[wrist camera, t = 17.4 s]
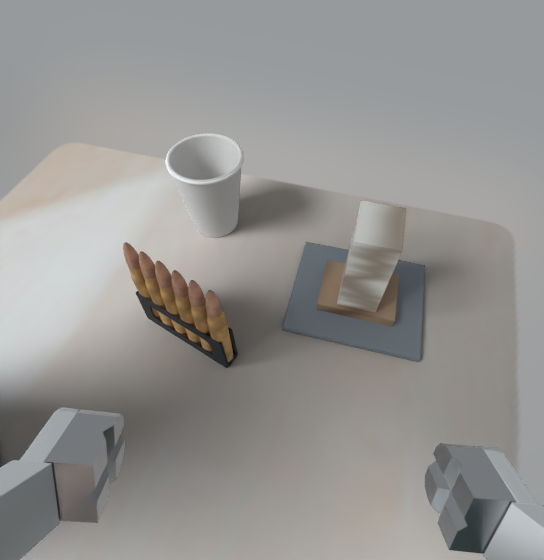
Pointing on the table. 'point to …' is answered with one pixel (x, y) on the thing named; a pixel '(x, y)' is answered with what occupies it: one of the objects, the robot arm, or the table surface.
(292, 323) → the slate mat
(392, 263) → the pale pillar on plinth
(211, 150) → the dixie cup
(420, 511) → the table surface
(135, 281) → the ammunition clip
